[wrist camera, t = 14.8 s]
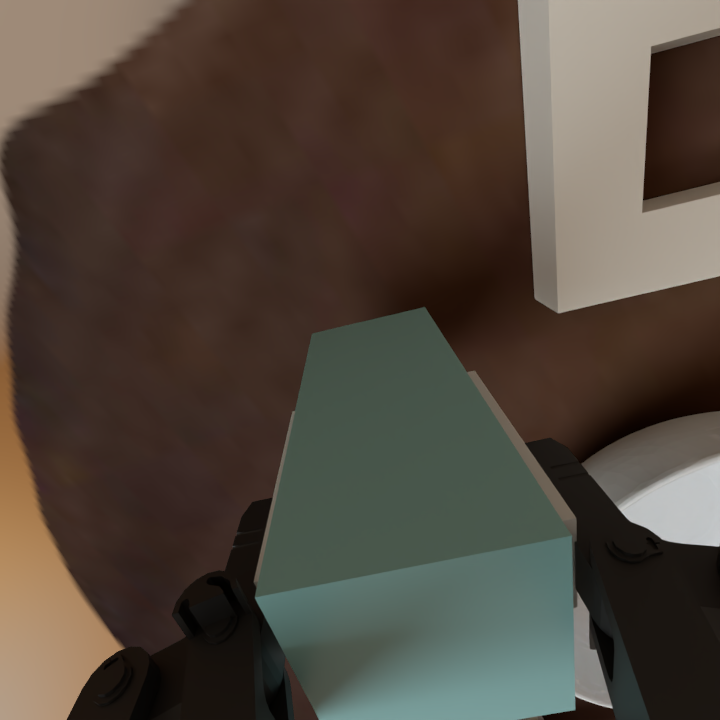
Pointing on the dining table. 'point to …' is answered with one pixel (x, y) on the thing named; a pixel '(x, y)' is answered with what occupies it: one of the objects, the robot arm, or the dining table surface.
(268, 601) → the teal square peg
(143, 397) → the dining table surface
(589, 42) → the white square frame
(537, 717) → the coffee box
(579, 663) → the serving bowl
